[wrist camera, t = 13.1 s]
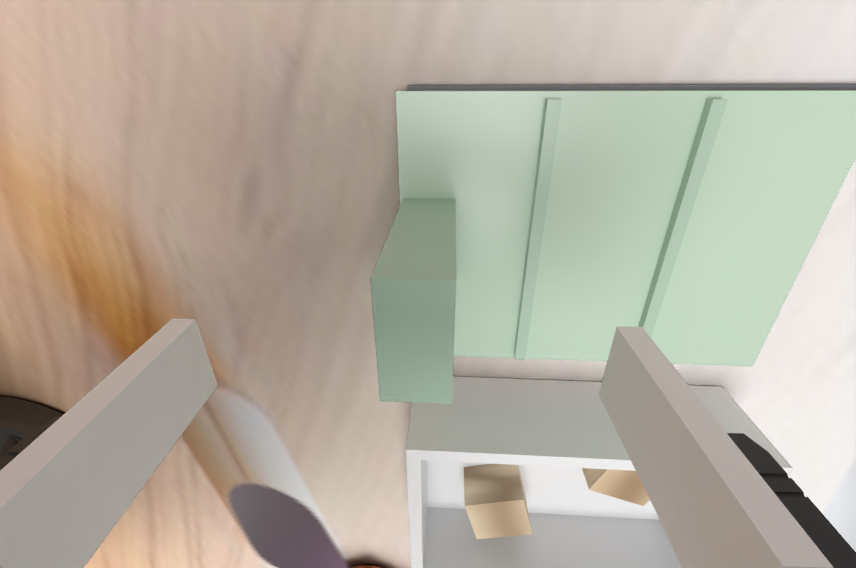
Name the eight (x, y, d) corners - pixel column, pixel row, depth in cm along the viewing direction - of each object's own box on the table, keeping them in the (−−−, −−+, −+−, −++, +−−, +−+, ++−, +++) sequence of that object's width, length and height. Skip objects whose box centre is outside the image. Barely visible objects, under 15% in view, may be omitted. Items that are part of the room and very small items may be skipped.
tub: (418, 503, 33) (411, 584, 28) (415, 374, 27) (406, 449, 21) (662, 516, 32) (703, 603, 27) (722, 386, 25) (792, 468, 20)
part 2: (576, 450, 28) (588, 489, 25) (606, 412, 26) (624, 450, 23) (625, 465, 28) (643, 506, 26) (659, 430, 26) (682, 469, 24)
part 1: (474, 500, 31) (476, 539, 29) (463, 467, 29) (464, 505, 27) (525, 494, 30) (532, 534, 28) (517, 460, 29) (523, 499, 26)
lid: (406, 346, 25) (382, 485, 16) (397, 90, 18) (348, 103, 10) (743, 357, 24) (903, 513, 15) (870, 90, 17) (1283, 104, 9)
